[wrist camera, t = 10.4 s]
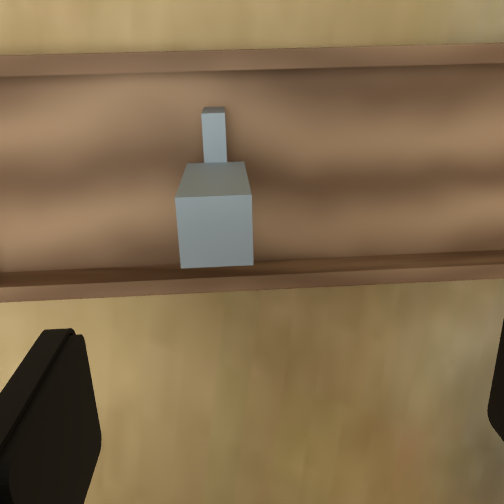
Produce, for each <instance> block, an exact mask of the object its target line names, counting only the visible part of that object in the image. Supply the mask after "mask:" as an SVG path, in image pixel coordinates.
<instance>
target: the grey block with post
mask: <svg viewBox="0 0 504 504" xmlns="http://www.w3.org/2000/svg"><path fill="white" fill-rule="evenodd" d="M201 118H202V135H203V151H204V163H187V165H186V168H185V171H184V173H183V176H182V179H181V182H180V185H179V187H178V190H177V193H176V196H175V205H176V217H177V229H178V240H179V252H180V263H181V268H202V267H224V266H246V265H254V264H253V225H252V194H251V189H250V185H249V181H248V176H247V172H246V168H245V163H244V161H242V162H227V150H226V127H225V107H204V108H203V111H202V113H201Z"/></svg>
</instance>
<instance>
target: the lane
mask: <svg viewBox="0 0 504 504" xmlns="http://www.w3.org/2000/svg"><path fill="white" fill-rule="evenodd" d="M204 107H225V127H226V150H227V162H242V161H244V163H245V168H246V172H247V176H248V181H249V185H250V189H251V194H252V225H253V264H254V265H246V266H224V267H202V268H181V263H180V252H179V240H178V229H177V217H176V205H175V196H176V193H177V190H178V187H179V185H180V182H181V179H182V176H183V173H184V171H185V168H186V165H187V163H204V151H203V135H202V118H201V113H202V111H203V108H204ZM499 278H504V43H481V44H442V45H402V46H363V47H323V48H283V49H244V50H204V51H165V52H125V53H86V54H46V55H7V56H0V302H21V301H42V300H63V299H83V298H104V297H125V296H146V295H166V294H187V293H208V292H229V291H249V290H270V289H291V288H312V287H333V286H353V285H374V284H395V283H416V282H436V281H457V280H478V279H499Z"/></svg>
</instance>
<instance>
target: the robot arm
mask: <svg viewBox="0 0 504 504" xmlns="http://www.w3.org/2000/svg"><path fill="white" fill-rule="evenodd" d="M488 418H489V421H490V423H491V425H492V427H493V428H494V429H495V431H496V432H497V433H498V435H499V436H500V437H501V439H502V440H503V441H504V320H503V326H502V332H501V337H500V343H499V348H498V354H497V359H496V365H495V370H494V376H493V381H492V387H491V392H490V398H489V403H488ZM100 450H101V430H100V424H99V419H98V413H97V407H96V402H95V396H94V390H93V385H92V379H91V373H90V368H89V362H88V356H87V351H86V345H85V340H84V337H83V335H82V334H81V335H76V334H75V331H74V330H73V329H72V328H68V329H50V330H44V331H43V332H42V333H41V334H40V336H39V337H38V339H37V340H36V342H35V343H34V345H33V346H32V348H31V349H30V351H29V352H28V353H27V355H26V356H25V358H24V359H23V361H22V362H21V364H20V365H19V367H18V368H17V370H16V371H15V372H14V374H13V375H12V377H11V378H10V380H9V381H8V383H7V384H6V386H5V387H4V389H3V390H2V391H1V393H0V504H84V501H85V498H86V495H87V491H88V488H89V485H90V482H91V479H92V476H93V472H94V469H95V466H96V463H97V460H98V457H99V454H100Z"/></svg>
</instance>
